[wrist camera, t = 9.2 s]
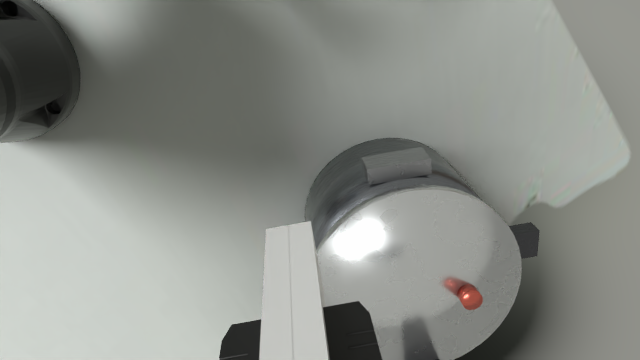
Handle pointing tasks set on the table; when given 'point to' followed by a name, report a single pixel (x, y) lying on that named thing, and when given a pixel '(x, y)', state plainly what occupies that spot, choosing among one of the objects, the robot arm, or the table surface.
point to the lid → (423, 270)
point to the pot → (387, 183)
